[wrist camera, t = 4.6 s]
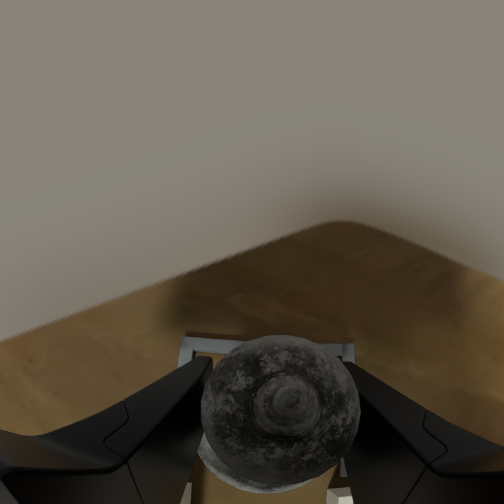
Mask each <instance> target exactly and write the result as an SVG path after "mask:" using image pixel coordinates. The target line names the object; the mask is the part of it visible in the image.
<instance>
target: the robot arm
mask: <svg viewBox="0 0 504 504" xmlns="http://www.w3.org/2000/svg"><path fill="white" fill-rule="evenodd" d="M342 363H343V365H344V366H345V367H346V369H347V370H348V371H349V373H350V374H351V376H352V378H353V380H354V383H355V385H356V388H357V390H358V393H359V401H360V410H361V413H360V420H359V426H358V431H357V434H356V436H355V438H354V440H353V442H352V444H351V446H350V449H349V450H348V451H347V452H346V454H345V455H344V456H343V460H344V464H345V469H346V473H347V477H348V482H349V486H350V490H351V495H352V499H353V504H504V446H501V445H498V444H495V443H493V442H491V441H489V440H486V439H484V438H482V437H480V436H477V435H475V434H473V433H471V432H469V431H466V430H464V429H462V428H460V427H458V426H456V425H454V424H452V423H450V422H448V421H446V420H445V419H443V418H441V417H439V416H437V415H436V414H434V413H432V412H431V411H429V410H426V408H424V407H422V406H421V405H419V404H418V403H416V402H414V401H413V400H411V399H409V398H408V397H406V396H405V395H403V394H401V393H400V392H398V391H397V390H395V389H393V388H392V387H390V386H389V385H387V384H385V383H384V382H382V381H381V380H379V379H378V378H376V377H374V376H373V375H371V374H370V373H368V372H367V371H365V370H363V369H362V368H360V367H359V366H357V365H356V364H354V363H353V362H350V361H342ZM212 372H213V359H212V358H211V357H208V356H197V357H195V358H194V359H192V360H191V361H189V362H187V363H186V364H184V365H182V366H181V367H179V368H177V369H176V370H174V371H172V372H171V373H169V374H167V375H166V376H164V377H162V378H160V379H159V380H157V381H155V382H154V383H152V384H150V385H148V386H147V387H145V388H143V389H141V390H140V391H138V392H136V393H134V394H133V395H131V396H129V397H127V398H125V399H124V400H123V401H120V402H118V403H116V404H114V405H113V406H111V407H109V408H107V409H105V410H103V411H101V412H99V413H97V414H94V415H92V416H90V417H87V418H85V419H83V420H80V421H78V422H75V423H73V424H70V425H67V426H65V427H62V428H59V429H57V430H54V431H51V432H49V433H45V434H42V435H36V436H25V435H19V434H15V433H12V432H8V431H4V430H1V429H0V504H180V503H181V500H182V497H183V494H184V491H185V488H186V485H187V482H188V479H189V476H190V473H191V470H192V467H193V464H194V461H195V458H196V455H197V452H198V449H199V446H200V443H201V440H202V437H203V434H204V429H203V426H202V422H201V399H202V395H203V392H204V388H205V384H206V382H207V380H208V378H209V377H210V375H211V373H212Z"/></svg>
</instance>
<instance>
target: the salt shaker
mask: <svg viewBox="0 0 504 504" xmlns="http://www.w3.org/2000/svg"><path fill="white" fill-rule="evenodd" d="M360 413H361V410H360V401H359V393H358V390H357V388H356V385H355V383H354V380H353V378H352V376H351V374H350V373H349V371H348V370H347V369H346V367H345V366H344V365H343V363H342V362H341V361H340V359H339V358H337V357H336V356H335V355H334V354H332V353H331V352H330V351H329V350H327V349H326V348H325V347H323V346H321V345H319V344H317V343H314V342H312V341H310V340H308V339H305V338H300V337H295V336H290V335H269V336H264V337H260V338H257V339H253V340H249V341H247V342H245V343H243V344H242V345H240V346H238V347H236V348H235V349H233V350H231V351H230V352H229V353H228V354H227V355H226V356H225V357H224V358H223V359H222V360H221V361H220V362H219V363H218V364H217V365H216V366H215V368H214V370H213V372H212V373H211V375H210V377H209V378H208V380H207V382H206V384H205V388H204V392H203V395H202V399H201V422H202V426H203V429H204V434H203V437H202V440H201V443H200V446H199V449H198V452H197V453H198V454H199V456H200V457H201V459H202V460H203V462H204V464H205V465H206V467H207V468H208V469H209V470H211V471H212V472H213V473H214V474H215V475H216V476H217V477H218V478H220V479H221V480H222V481H224V482H226V483H228V484H230V485H232V486H234V487H236V488H238V489H240V490H245V491H250V492H255V493H260V494H263V493H281V492H285V491H288V490H291V489H294V488H297V487H300V486H303V485H304V484H306V483H307V482H309V481H311V480H312V479H314V478H316V477H318V476H320V475H321V474H323V473H324V472H326V471H327V470H329V469H330V468H332V467H333V466H335V465H336V464H337V463H338V462H339V461H340V459H341V458H342V457H343V456H344V455H345V454H346V452H347V451H348V450H349V449H350V446H351V444H352V442H353V440H354V438H355V436H356V434H357V431H358V426H359V420H360Z"/></svg>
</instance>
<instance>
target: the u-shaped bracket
mask: <svg viewBox="0 0 504 504" xmlns="http://www.w3.org/2000/svg"><path fill="white" fill-rule="evenodd" d="M191 489H192V483H188V482H187V485H186V488H185V491H184V494H183V497H182V500H181V503H180V504H191ZM326 504H353V499H352V495H351V490H350V487H344V488H332V489H327V499H326Z"/></svg>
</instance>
